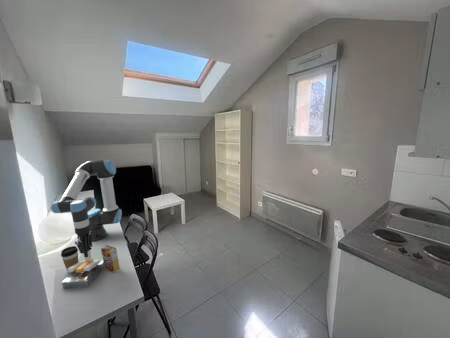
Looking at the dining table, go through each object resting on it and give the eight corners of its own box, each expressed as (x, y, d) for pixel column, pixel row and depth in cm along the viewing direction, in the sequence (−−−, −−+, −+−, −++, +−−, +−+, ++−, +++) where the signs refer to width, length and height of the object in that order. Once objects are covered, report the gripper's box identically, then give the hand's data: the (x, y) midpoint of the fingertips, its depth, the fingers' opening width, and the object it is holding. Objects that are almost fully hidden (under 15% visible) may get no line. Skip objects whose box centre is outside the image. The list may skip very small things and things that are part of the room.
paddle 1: (80, 263, 123) (80, 260, 123) (86, 263, 123) (86, 260, 123) (67, 271, 112) (67, 268, 112) (73, 271, 112) (73, 268, 112)
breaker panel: (84, 266, 127) (83, 259, 126) (106, 265, 127) (104, 258, 126) (63, 288, 109) (61, 280, 108) (88, 286, 110) (86, 279, 109)
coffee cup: (72, 275, 119) (67, 254, 116) (61, 273, 120) (56, 252, 117) (84, 266, 127) (80, 245, 124) (74, 264, 128) (69, 244, 125)
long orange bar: (88, 262, 123) (88, 259, 123) (93, 261, 123) (93, 259, 123) (75, 272, 112) (75, 269, 112) (81, 272, 112) (81, 269, 112)
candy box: (104, 269, 123) (100, 248, 120) (110, 265, 127) (106, 244, 124) (114, 273, 120) (110, 251, 117) (119, 268, 124) (116, 247, 121)
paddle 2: (95, 262, 123) (95, 259, 123) (100, 262, 123) (100, 259, 123) (83, 271, 112) (83, 267, 112) (89, 270, 112) (89, 267, 112)
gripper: (82, 221, 122) (89, 253, 127) (67, 231, 109) (74, 267, 114) (95, 220, 122) (100, 253, 127) (81, 231, 110) (87, 267, 115)
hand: (88, 260), depth 121 cm, fingers closed
